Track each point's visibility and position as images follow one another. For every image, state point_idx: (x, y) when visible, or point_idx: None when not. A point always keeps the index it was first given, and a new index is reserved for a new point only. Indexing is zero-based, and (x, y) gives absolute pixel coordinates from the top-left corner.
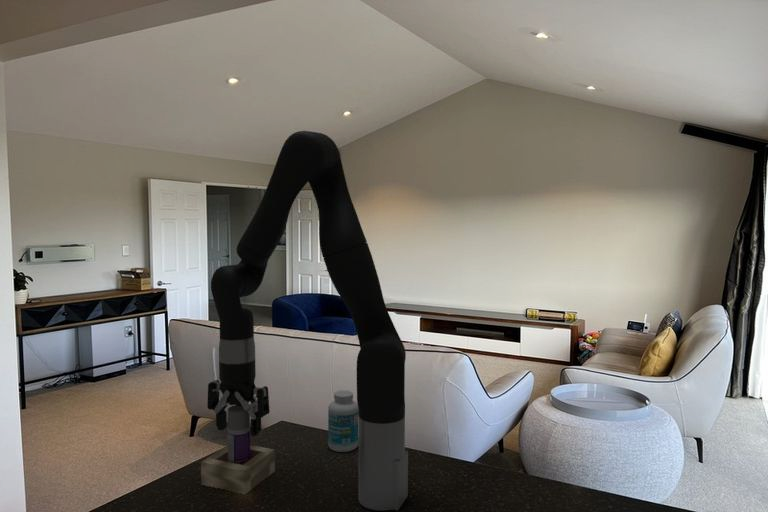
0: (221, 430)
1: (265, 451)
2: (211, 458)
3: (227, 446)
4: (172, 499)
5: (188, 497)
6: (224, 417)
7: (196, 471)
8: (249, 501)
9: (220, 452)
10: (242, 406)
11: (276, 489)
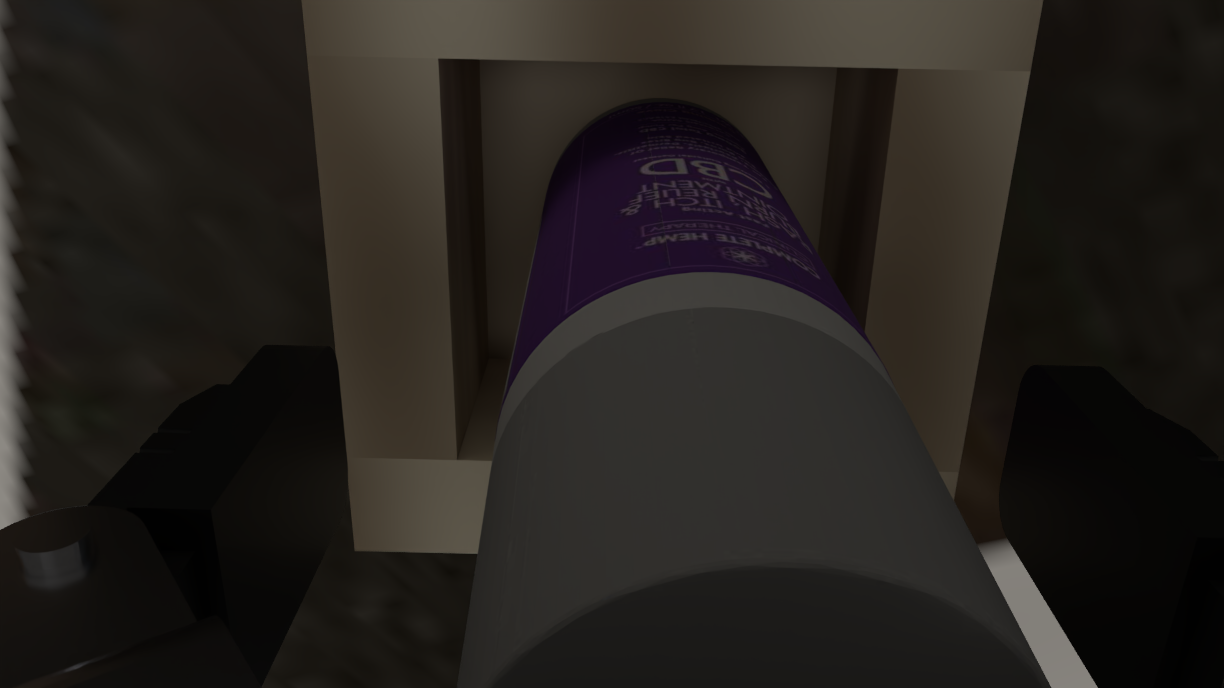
0: (347, 470)
1: (950, 46)
2: (400, 450)
3: (330, 92)
4: (371, 658)
5: (461, 604)
6: (271, 509)
7: (156, 230)
8: (968, 507)
9: (383, 288)
10: (780, 682)
11: (1122, 268)
